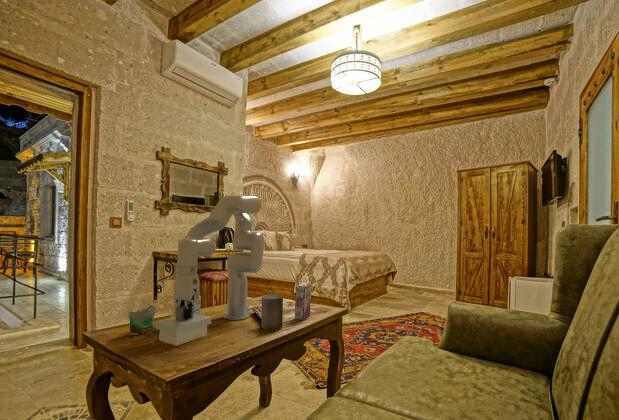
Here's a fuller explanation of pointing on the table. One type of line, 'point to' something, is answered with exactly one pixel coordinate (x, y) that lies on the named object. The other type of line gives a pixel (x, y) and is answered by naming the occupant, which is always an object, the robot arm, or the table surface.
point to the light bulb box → (196, 306)
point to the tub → (182, 336)
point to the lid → (182, 322)
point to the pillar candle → (272, 312)
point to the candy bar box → (302, 301)
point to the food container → (142, 321)
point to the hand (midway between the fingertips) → (184, 317)
